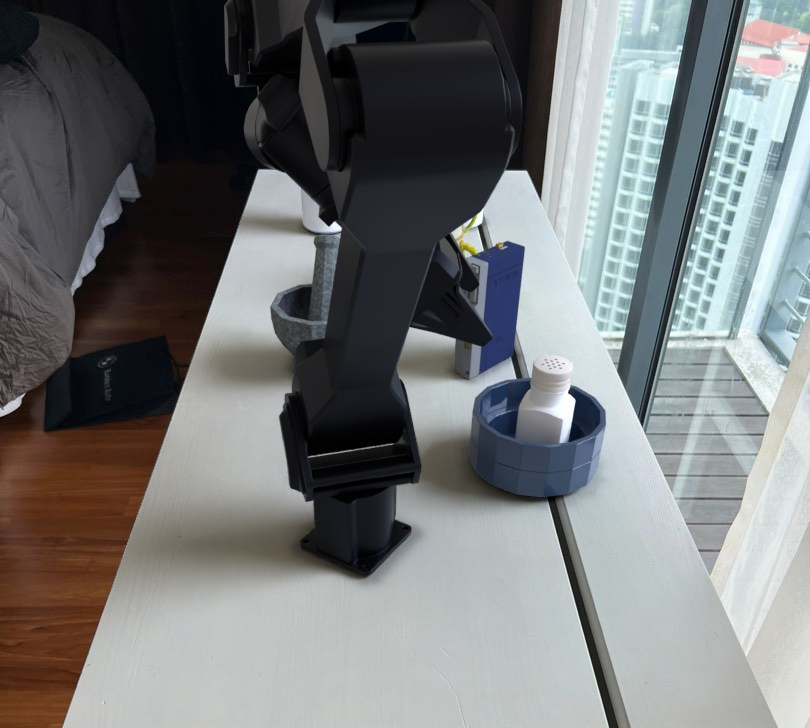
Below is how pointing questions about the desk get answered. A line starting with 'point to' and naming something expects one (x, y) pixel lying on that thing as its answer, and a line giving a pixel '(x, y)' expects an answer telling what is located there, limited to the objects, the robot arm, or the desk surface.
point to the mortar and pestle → (307, 300)
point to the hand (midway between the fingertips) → (481, 313)
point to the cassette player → (493, 307)
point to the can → (315, 217)
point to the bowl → (533, 444)
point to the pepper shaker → (547, 403)
